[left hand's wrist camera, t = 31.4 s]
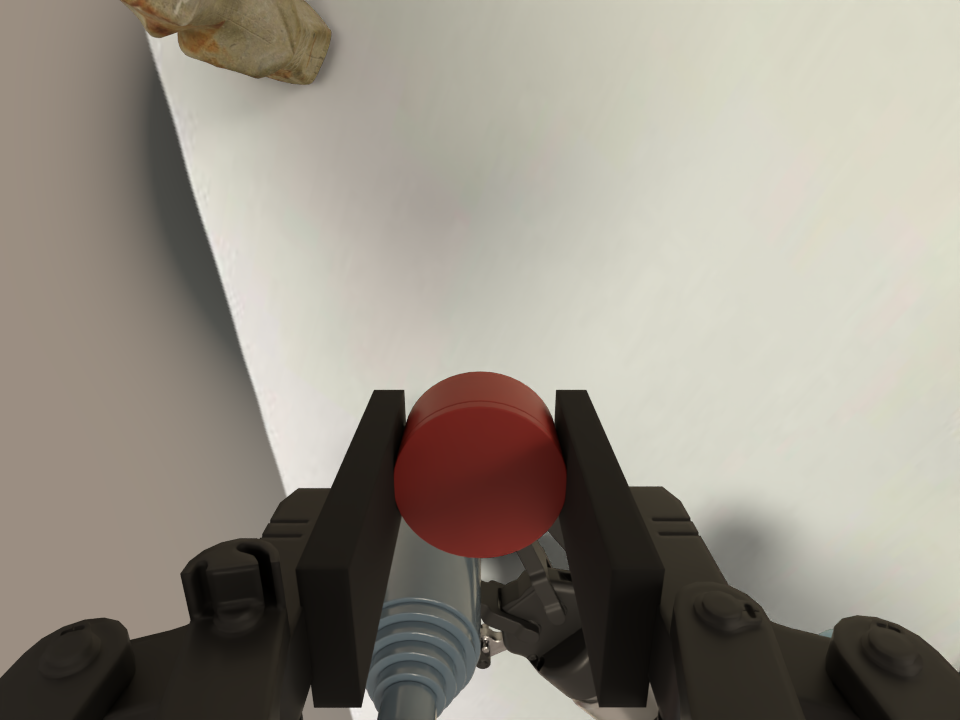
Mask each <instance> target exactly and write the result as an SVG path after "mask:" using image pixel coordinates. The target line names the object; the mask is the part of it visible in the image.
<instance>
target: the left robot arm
mask: <svg viewBox="0 0 960 720" xmlns="http://www.w3.org/2000/svg"><path fill="white" fill-rule="evenodd" d="M554 424H555V428H556V432H557V435H558V439H559V443H560V446H561V450H562V454H563V457H564V461H565V465H566V469H567V479H566V495H565V502H564V506H563V508H562V510H561V512H560V514H559V516H558V517H559V521H560V526H561V531H562V536H563V540H564V545H565V550H566V554H567V559H568V564H569V569H570V573H571V578H572V583H573V587H574V592H575V597H576V601H577V606H578V611H579V616H580V620H581V625H582V630H583V634H584V639H585V644H586V649H587V653H588V658H589V663H590V667H591V672H592V677H593V682H594V686H595V691H596V696H597V700H598V705H599V708H646V706H647V699H648V691H649V684H651V688H652V691H653V694H654V697H655V700H656V703H657V706H658V715H657V720H960V674H959V673H958V672H957V671H956V670H955V669H954V668H953V667H952V666H951V665H950V663H949V662H948V661H947V660H946V659H945V658H944V657H943V656H942V655H941V654H940V653H939V652H938V651H937V650H936V649H934V648H933V647H932V646H931V645H930V644H928V643H927V642H926V641H925V640H923V639H922V638H921V637H920V636H918V635H916V634H915V633H913V632H911V631H909V630H907V629H905V628H904V627H902V626H900V625H898V624H895V623H892V622H889V621H886V620H883V619H880V618H877V617H868V616H859V615H856V616H852V617H847V618H843V619H841V620H840V621H839V623H838V624H837V625H836V626H835V627H834V629H833V633H832V637H831V638H830V637H825V636H821V635H817V634H813V633H809V632H805V631H801V630H796V629H792V628H789V627H786V626H782V625H779V624H776V623H774V622H772V621H770V620H769V618H768V617H767V615H766V613H765V612H764V610H763V609H762V607H761V606H760V605H759V604H758V603H757V602H755V601H754V600H753V599H752V598H751V597H750V596H748V595H747V594H745V593H743V592H741V591H739V590H737V589H735V588H733V587H731V586H729V585H728V583H727V582H726V580H725V578H724V576H723V575H722V573H721V571H720V569H719V568H718V566H717V564H716V562H715V561H714V559H713V557H712V555H711V553H710V552H709V550H708V548H707V546H706V545H705V543H704V541H703V539H702V538H701V536H699V535H698V531H697V529H696V527H695V525H694V524H693V522H692V521H690V517H689V515H688V513H687V511H686V510H685V508H684V506H683V504H682V503H681V501H680V500H679V499H677V498H676V497H675V496H674V495H672V494H671V493H670V492H669V491H667V490H666V489H665V488H663V487H629V486H628V484H627V481H626V479H625V477H624V475H623V472H622V470H621V468H620V465H619V463H618V461H617V459H616V456H615V454H614V452H613V450H612V447H611V445H610V443H609V440H608V438H607V436H606V434H605V431H604V429H603V427H602V425H601V422H600V420H599V418H598V415H597V413H596V411H595V409H594V406H593V404H592V402H591V400H590V397H589V395H588V393H587V390H556V403H555V423H554ZM405 425H406V416H405V396H404V390H374V391H373V394H372V396H371V398H370V400H369V403H368V405H367V407H366V410H365V412H364V414H363V416H362V419H361V421H360V423H359V425H358V428H357V430H356V432H355V435H354V437H353V439H352V441H351V444H350V446H349V448H348V450H347V453H346V455H345V457H344V460H343V462H342V464H341V466H340V469H339V471H338V473H337V475H336V478H335V480H334V482H333V485H332V487H331V488H298V489H297V490H296V491H294V492H293V493H292V494H291V495H289V496H288V497H287V498H286V499H284V500H283V501H282V502H280V504H279V506H278V507H277V509H276V511H275V513H274V514H273V516H272V518H271V520H270V523H269V524H268V525H267V527H266V528H265V530H264V532H263V534H262V538H260V539H257V538H239V539H235V540H230V541H226V542H222V543H219V544H217V545H215V546H212V547H210V548H208V549H206V550H204V551H202V552H201V553H200V554H198V555H197V556H196V557H194V558H193V559H192V560H190V561H189V562H188V564H187V565H186V567H185V568H184V569H183V571H182V572H181V579H182V584H183V588H184V593H185V597H186V602H187V606H188V611H189V615H190V620H191V621H190V624H188V625H185V626H182V627H179V628H176V629H173V630H170V631H165V632H161V633H157V634H153V635H149V636H145V637H141V638H137V639H132V640H130V639H129V635H128V631H127V629H126V628H125V627H124V626H123V625H122V624H121V623H120V622H119V621H116V620H112V619H108V618H96V619H87V620H82V621H79V622H76V623H73V624H70V625H67V626H64V627H62V628H60V629H58V630H57V631H55V632H53V633H51V634H49V635H47V636H46V637H44V638H42V639H41V640H40V641H38V642H37V643H36V644H35V645H34V646H32V647H31V648H30V649H29V650H28V651H26V652H25V653H24V654H23V655H22V656H21V657H20V658H19V659H18V660H17V661H16V662H15V663H14V664H13V665H12V666H11V667H10V668H9V670H8V671H7V672H6V673H5V674H4V675H3V676H2V677H1V678H0V720H303V715H302V711H303V707H304V704H305V701H306V698H307V695H308V692H309V688H310V685H311V688H312V696H313V703H314V707H315V708H361V707H362V702H363V697H364V693H365V688H366V683H367V679H368V674H369V669H370V664H371V660H372V655H373V650H374V646H375V641H376V636H377V632H378V627H379V622H380V617H381V613H382V608H383V603H384V599H385V594H386V589H387V584H388V580H389V575H390V570H391V566H392V561H393V556H394V551H395V547H396V542H397V537H398V533H399V528H400V523H401V518H402V515H401V514H400V511H399V509H398V507H397V505H396V501H395V490H394V466H395V462H396V458H397V455H398V451H399V447H400V443H401V440H402V436H403V432H404V429H405Z"/></svg>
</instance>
